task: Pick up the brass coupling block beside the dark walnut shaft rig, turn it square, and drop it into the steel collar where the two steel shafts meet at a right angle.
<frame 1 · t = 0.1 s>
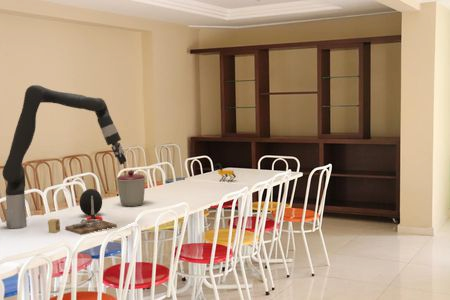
hand: (123, 163, 309), 31 cm above the table, tool tilted 20°, fingers open, 8 cm apart
tow hook: (94, 220, 320), on the table
robot dog: (224, 181, 439), on the table
decorative egg: (91, 215, 332), on the table
canister: (132, 205, 359), on the table
coupler: (54, 231, 296), on the table
shaft rig: (91, 228, 301), on the table
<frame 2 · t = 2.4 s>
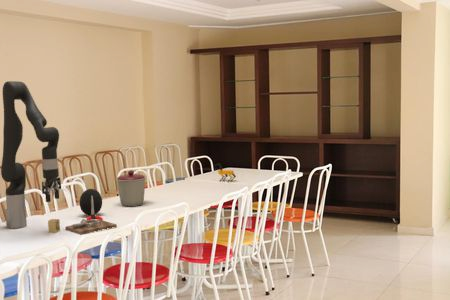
hand: (52, 200, 295), 16 cm above the table, tool pointing down, fingers open, 8 cm apart
nothing on the table moved.
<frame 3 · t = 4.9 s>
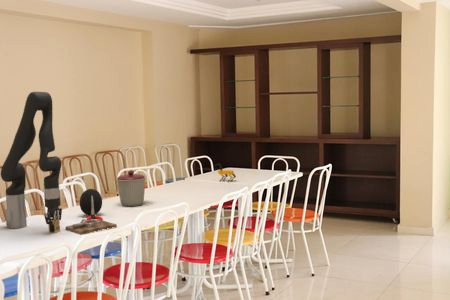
hand: (54, 230, 296), 0 cm above the table, tool pointing down, fingers closed on coupler, 4 cm apart
coupler: (54, 231, 296), on the table, touching gripper
everything else where it was.
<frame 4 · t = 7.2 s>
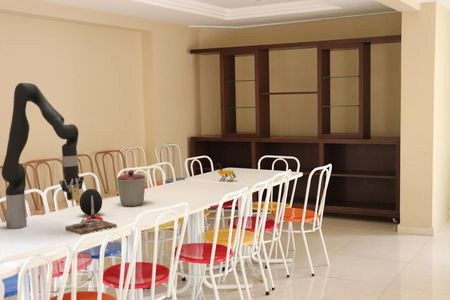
hand: (73, 198, 297), 16 cm above the table, tool pointing down, fingers closed on coupler, 4 cm apart
coupler: (73, 199, 297), point 15 cm above the table, touching gripper
everything else where it was.
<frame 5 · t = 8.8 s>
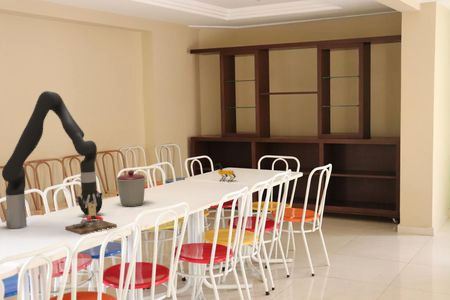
hand: (90, 214, 300), 7 cm above the table, tool pointing down, fingers closed on coupler, 4 cm apart
coupler: (90, 215, 300), point 7 cm above the table, touching gripper
everything else where it was.
when the fingers open (4 cm above the table, at t = 9.8 s): coupler drops 2 cm, resting on shaft rig.
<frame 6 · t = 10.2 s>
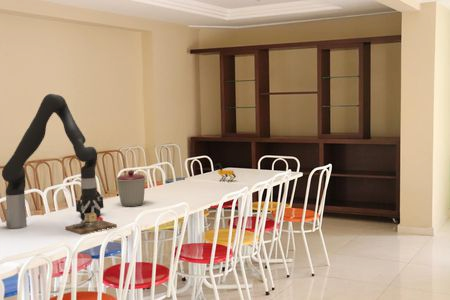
hand: (90, 218, 300), 5 cm above the table, tool pointing down, fingers open, 8 cm apart
coupler: (91, 225, 301), point 1 cm above the table, touching shaft rig
everything else where it was.
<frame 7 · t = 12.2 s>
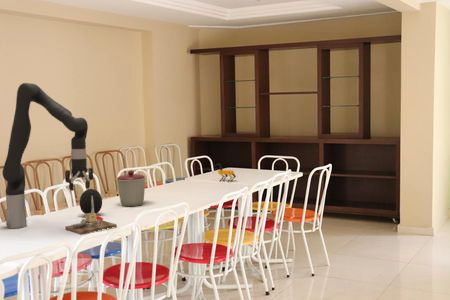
hand: (79, 189, 301), 20 cm above the table, tool pointing down, fingers open, 8 cm apart
nothing on the table moved.
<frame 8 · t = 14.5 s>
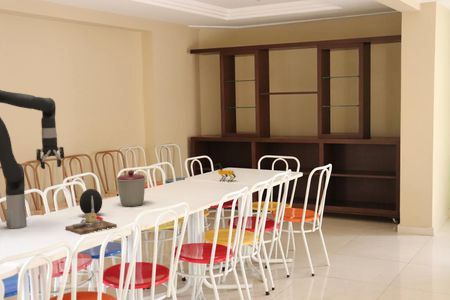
hand: (51, 167, 308), 30 cm above the table, tool pointing down, fingers open, 8 cm apart
nothing on the table moved.
at the end: coupler 0.2 cm off-centre on the shaft rig, point 1.5 cm above the shaft rig's base; coupler tilted 0°; the gripper is holding nothing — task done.
